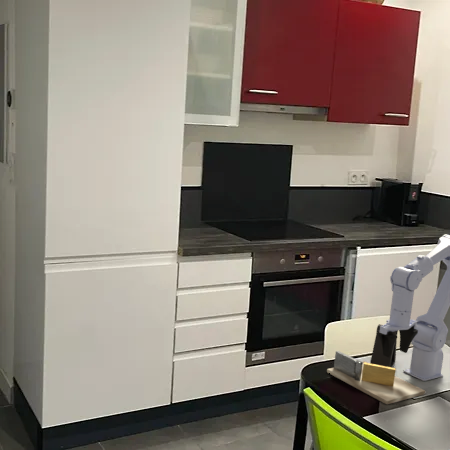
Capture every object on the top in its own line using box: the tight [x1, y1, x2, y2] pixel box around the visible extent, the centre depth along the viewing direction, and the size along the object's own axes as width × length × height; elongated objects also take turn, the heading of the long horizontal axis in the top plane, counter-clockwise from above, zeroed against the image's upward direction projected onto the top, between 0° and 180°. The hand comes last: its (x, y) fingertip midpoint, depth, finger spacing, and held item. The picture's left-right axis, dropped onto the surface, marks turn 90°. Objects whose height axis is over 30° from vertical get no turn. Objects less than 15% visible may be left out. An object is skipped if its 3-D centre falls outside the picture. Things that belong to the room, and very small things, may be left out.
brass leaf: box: [362, 361, 397, 386], centre depth 186 cm, size 1×9×5 cm, turn 72°
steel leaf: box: [333, 350, 363, 381], centre depth 191 cm, size 2×10×5 cm, turn 35°
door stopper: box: [369, 324, 399, 368], centre depth 205 cm, size 9×6×12 cm, turn 152°
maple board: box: [326, 360, 426, 405], centre depth 189 cm, size 16×24×1 cm
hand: (395, 353), depth 188 cm, fingers open, 7 cm apart
